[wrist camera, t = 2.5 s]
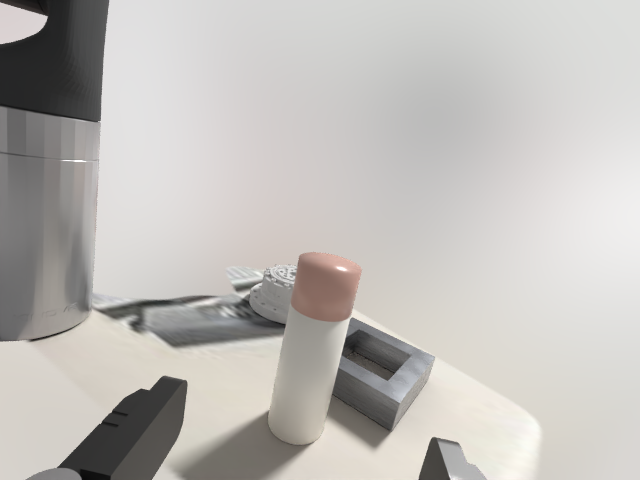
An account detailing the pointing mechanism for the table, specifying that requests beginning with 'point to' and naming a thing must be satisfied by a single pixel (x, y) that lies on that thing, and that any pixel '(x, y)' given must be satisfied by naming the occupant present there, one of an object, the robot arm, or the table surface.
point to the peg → (312, 346)
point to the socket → (370, 389)
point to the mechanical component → (274, 293)
